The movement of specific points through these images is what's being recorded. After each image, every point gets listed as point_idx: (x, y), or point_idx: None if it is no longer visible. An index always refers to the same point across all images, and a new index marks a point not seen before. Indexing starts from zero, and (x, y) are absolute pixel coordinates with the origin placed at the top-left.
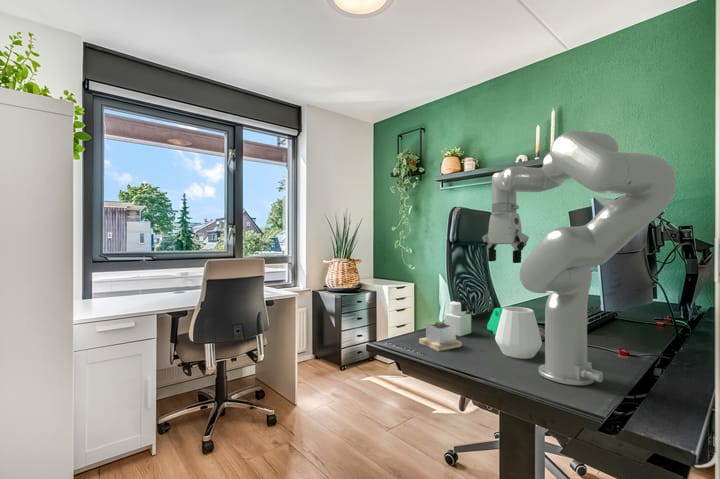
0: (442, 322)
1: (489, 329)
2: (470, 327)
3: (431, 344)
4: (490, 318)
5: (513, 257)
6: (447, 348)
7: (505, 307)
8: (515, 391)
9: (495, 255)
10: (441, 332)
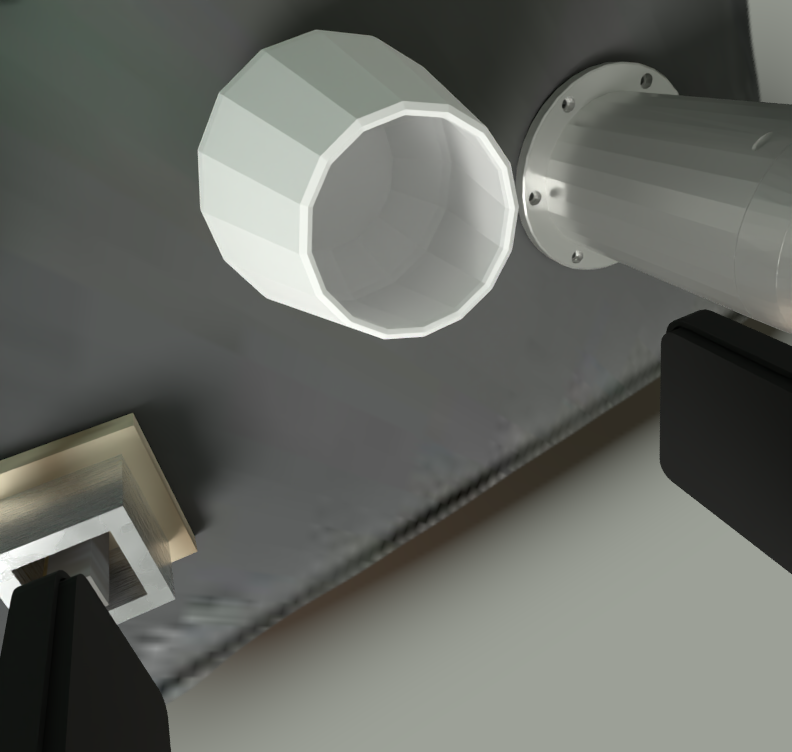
0: None
1: None
2: None
3: None
4: None
5: (752, 524)
6: (173, 496)
7: (320, 285)
8: (603, 412)
9: (80, 696)
10: (169, 576)
